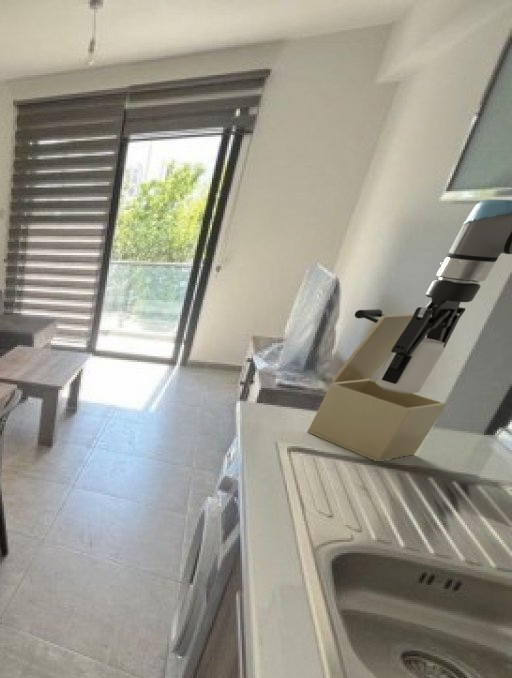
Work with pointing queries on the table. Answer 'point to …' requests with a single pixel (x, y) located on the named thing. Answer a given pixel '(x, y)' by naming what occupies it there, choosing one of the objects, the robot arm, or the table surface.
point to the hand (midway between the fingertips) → (400, 380)
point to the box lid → (373, 345)
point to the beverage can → (413, 367)
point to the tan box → (374, 419)
